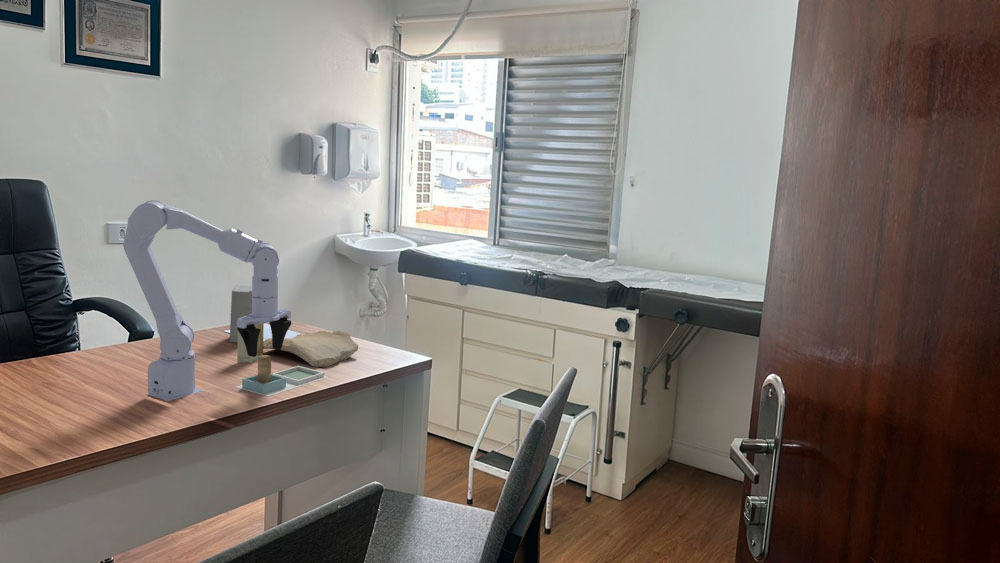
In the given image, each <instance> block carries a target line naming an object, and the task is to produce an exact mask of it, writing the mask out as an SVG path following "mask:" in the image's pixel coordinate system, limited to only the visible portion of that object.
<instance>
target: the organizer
mask: <svg viewBox="0 0 1000 563" xmlns="http://www.w3.org/2000/svg"><path fill="white" fill-rule="evenodd" d="M271 374H273V375H277V376H280V377H284V378H286V387H284V388H281V389H278V390H275V391H272V392H269V393H266V394H261V393H257V392H254V391H251V390H247V389H244V388H242V384H240V385H236V386H235V388H237V389H240V390H244V391H247V392H251V393H254V394H257V395H260V396H264V397H267V398H268V397H271V396H274V395H277V394H281V393H284V392H287V391H289V390H293V389H295V388H300V387H302V386H305V385H308V384H310V383H311V384H312V383H314V382H317V381H320V380H323V379H327V378H329V376H328V375H325V372H324V371H320V370H317V369H312V368H308V367H305V366H301V365H295V366H293V367H290V368H286V369H283V370H280V371H276V372H273V373H272V372H271Z"/></svg>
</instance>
